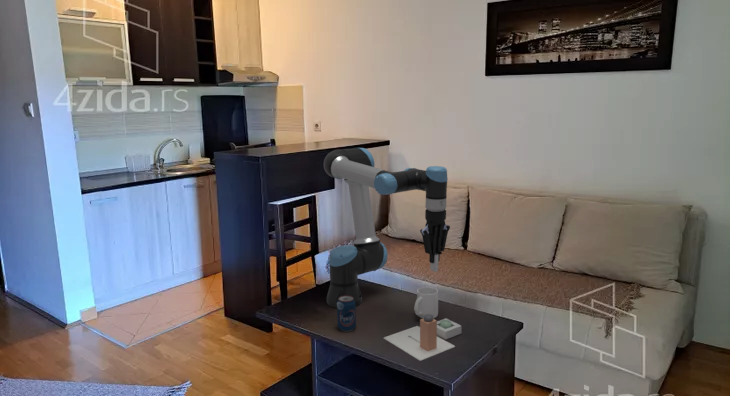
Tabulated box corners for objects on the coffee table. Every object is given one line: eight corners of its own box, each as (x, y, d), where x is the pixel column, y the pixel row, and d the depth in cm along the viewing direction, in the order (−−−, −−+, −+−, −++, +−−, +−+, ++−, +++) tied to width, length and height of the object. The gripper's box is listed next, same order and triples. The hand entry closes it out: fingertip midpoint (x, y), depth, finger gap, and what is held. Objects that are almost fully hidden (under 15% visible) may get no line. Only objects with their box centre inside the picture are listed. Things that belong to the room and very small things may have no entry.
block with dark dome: (420, 346, 174) (420, 315, 172) (428, 343, 176) (429, 312, 174) (427, 351, 171) (427, 319, 169) (436, 347, 173) (436, 316, 171)
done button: (437, 329, 185) (437, 321, 185) (445, 326, 188) (445, 319, 187) (445, 333, 182) (445, 325, 182) (453, 330, 184) (453, 322, 184)
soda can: (341, 333, 186) (340, 303, 184) (335, 326, 192) (334, 296, 190) (358, 330, 188) (358, 300, 186) (352, 322, 195) (351, 293, 192)
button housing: (430, 331, 186) (430, 323, 186) (445, 325, 191) (446, 318, 190) (445, 339, 180) (445, 331, 179) (461, 333, 184) (461, 325, 184)
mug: (423, 324, 192) (423, 299, 190) (406, 318, 198) (406, 293, 196) (442, 315, 200) (442, 290, 198) (425, 309, 206) (425, 285, 204)
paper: (383, 338, 181) (383, 337, 181) (417, 326, 190) (417, 325, 190) (420, 361, 165) (420, 360, 165) (455, 346, 174) (455, 346, 174)
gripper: (429, 213, 177) (427, 277, 182) (456, 208, 184) (453, 269, 189) (415, 209, 183) (414, 271, 188) (441, 204, 190) (440, 264, 195)
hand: (434, 270), depth 189 cm, fingers closed
